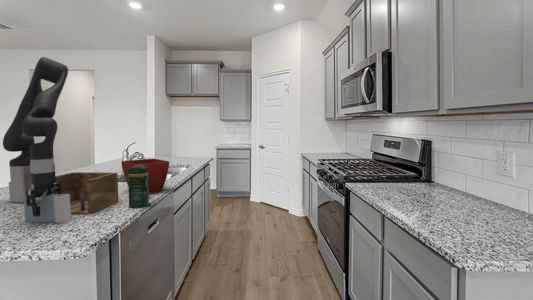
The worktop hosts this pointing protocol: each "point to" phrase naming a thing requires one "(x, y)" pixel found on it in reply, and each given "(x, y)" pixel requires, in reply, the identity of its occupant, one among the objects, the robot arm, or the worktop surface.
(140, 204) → the coffee jar
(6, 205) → the worktop surface
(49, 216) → the grey rectangular block
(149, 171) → the plant pot
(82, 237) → the worktop surface
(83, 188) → the open wooden box
